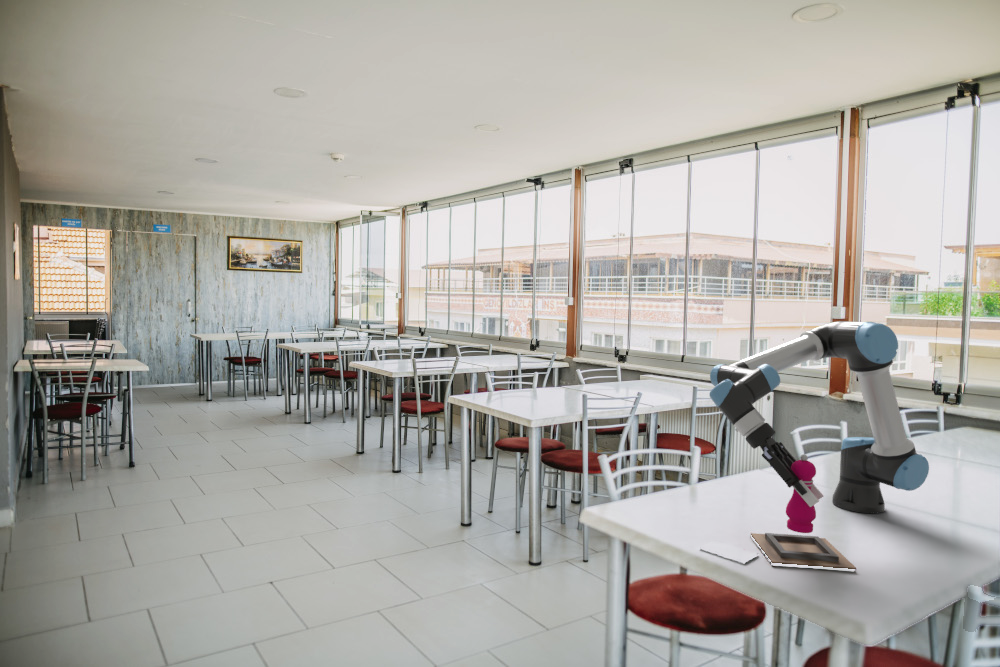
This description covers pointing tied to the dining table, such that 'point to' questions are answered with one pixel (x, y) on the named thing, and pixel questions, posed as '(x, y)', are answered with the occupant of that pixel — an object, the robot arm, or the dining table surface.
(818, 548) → the pocket board
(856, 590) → the dining table surface
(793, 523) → the pepper mill
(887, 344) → the robot arm
